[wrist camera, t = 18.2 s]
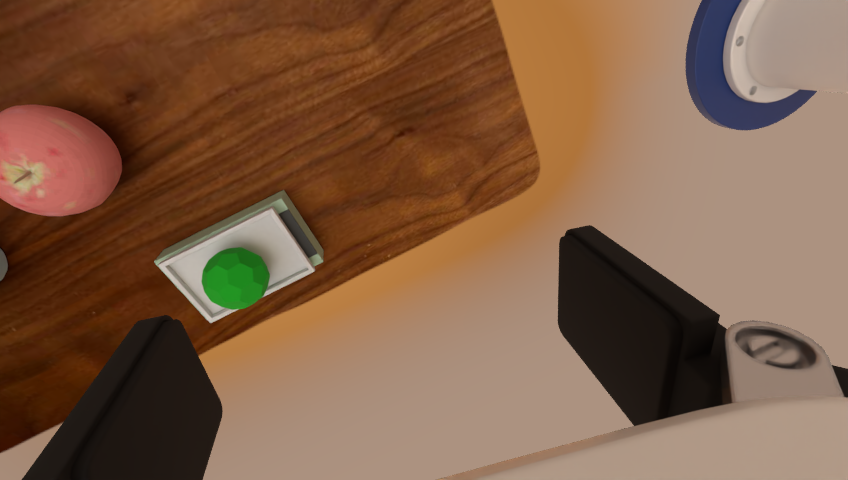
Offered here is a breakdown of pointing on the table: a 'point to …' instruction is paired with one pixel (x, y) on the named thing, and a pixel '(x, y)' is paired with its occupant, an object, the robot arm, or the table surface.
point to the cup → (3, 264)
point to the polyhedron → (235, 278)
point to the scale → (254, 231)
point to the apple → (55, 161)
